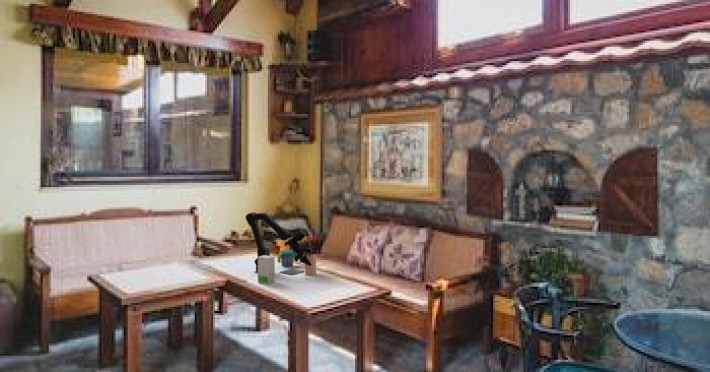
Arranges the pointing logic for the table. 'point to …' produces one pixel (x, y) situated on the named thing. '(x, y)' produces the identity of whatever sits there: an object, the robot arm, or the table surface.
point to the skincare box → (266, 269)
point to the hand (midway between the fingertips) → (312, 264)
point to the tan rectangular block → (311, 269)
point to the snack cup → (286, 257)
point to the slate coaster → (292, 271)
